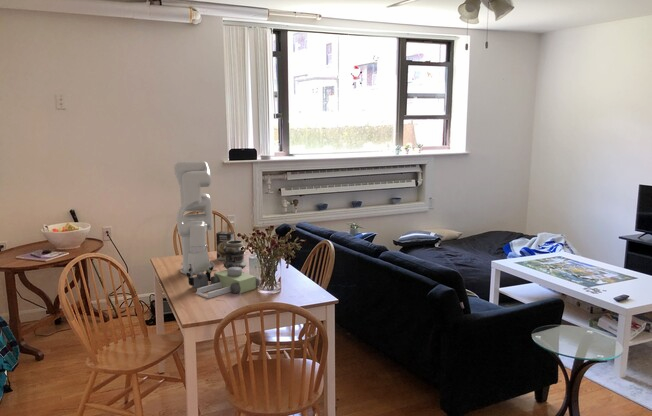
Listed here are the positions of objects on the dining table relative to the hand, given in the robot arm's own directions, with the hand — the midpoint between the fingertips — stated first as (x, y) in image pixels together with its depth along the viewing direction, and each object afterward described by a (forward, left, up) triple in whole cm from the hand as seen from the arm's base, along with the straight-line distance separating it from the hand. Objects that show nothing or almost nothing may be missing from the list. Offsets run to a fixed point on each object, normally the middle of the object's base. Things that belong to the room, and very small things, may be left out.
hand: (199, 283), depth 253 cm
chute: (-1, +1, -3) cm, 3 cm away
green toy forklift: (+11, +7, -3) cm, 13 cm away
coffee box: (-34, +42, -3) cm, 54 cm away
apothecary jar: (-5, +26, -3) cm, 27 cm away
